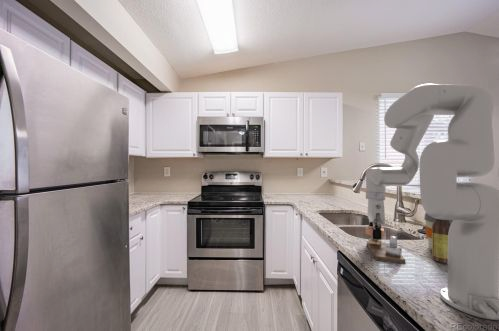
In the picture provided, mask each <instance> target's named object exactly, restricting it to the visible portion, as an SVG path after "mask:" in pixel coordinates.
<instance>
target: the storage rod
mask: <svg viewBox="0 0 499 331" xmlns="http://www.w3.org/2000/svg"><path fill="white" fill-rule="evenodd" d="M389 243H390V245H386V255H388V256H390V257H395V258H399V257H401V255H402V248H401V247H400V246H398V236H394V235H390V236H389Z"/></svg>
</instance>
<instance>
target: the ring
mask: <svg viewBox="0 0 499 331" xmlns="http://www.w3.org/2000/svg"><path fill="white" fill-rule="evenodd" d="M373 229H374V228H373V226H369V225H368V226H365V234H366V235H367V236H371V237H372V236H373ZM384 236H385V229H384V228H382V227H381V238H383V237H384Z"/></svg>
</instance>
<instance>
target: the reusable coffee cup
mask: <svg viewBox="0 0 499 331" xmlns="http://www.w3.org/2000/svg"><path fill="white" fill-rule="evenodd" d="M423 219H424V220H425V226H424V228H425V235H426V237H427V244H428V248H429V249H430V250H432V225H433V223H434V222H435V220H436V219H435V218H433V217H431V216H430V215H428V214H427V213H426V212H425V213H424V218H423ZM452 221H453V220H449V222H450V225H451V223H452Z"/></svg>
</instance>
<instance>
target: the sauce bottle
mask: <svg viewBox="0 0 499 331" xmlns="http://www.w3.org/2000/svg"><path fill="white" fill-rule="evenodd" d="M450 226H451V225H450V222H449V220H440V219H436V220H435V222H434V223H433V225H432V249H431V252H432V254H431V255H432V258H433V260H434V261H436V262H438V263H442V264H448V232H449V228H450Z"/></svg>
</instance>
